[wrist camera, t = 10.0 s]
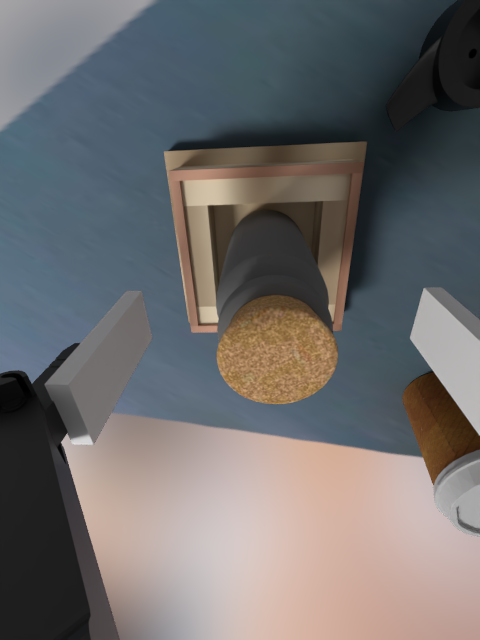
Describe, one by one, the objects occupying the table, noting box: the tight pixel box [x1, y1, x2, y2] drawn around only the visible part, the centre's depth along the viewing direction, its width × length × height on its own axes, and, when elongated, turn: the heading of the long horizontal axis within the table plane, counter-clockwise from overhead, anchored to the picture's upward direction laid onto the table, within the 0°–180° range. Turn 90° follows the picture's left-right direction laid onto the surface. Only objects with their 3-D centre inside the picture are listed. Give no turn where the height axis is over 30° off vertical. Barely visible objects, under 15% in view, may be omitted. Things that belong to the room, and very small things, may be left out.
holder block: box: [164, 142, 367, 332], centre depth 24 cm, size 14×14×4 cm
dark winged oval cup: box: [386, 0, 480, 132], centre depth 19 cm, size 8×10×3 cm
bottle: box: [216, 210, 338, 404], centre depth 19 cm, size 6×6×15 cm
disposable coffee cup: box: [403, 372, 480, 537], centre depth 28 cm, size 10×10×12 cm
